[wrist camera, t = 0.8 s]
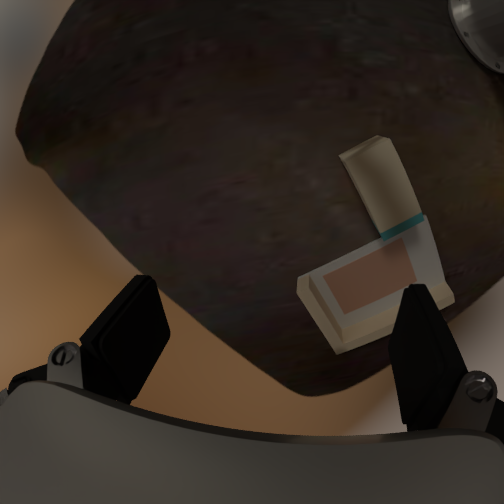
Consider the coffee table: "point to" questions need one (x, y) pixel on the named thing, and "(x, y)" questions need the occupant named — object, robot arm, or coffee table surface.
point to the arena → (372, 287)
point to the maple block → (383, 186)
